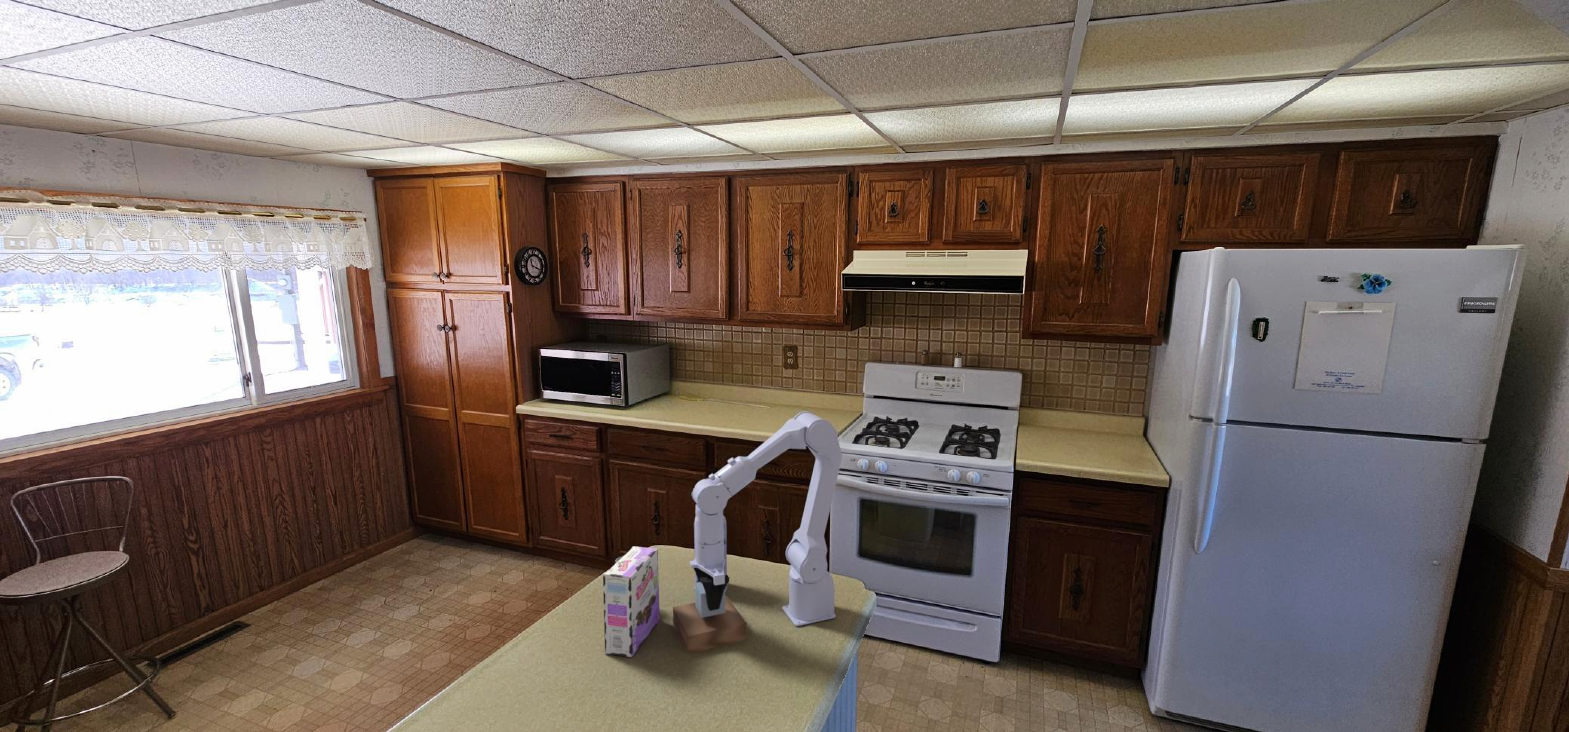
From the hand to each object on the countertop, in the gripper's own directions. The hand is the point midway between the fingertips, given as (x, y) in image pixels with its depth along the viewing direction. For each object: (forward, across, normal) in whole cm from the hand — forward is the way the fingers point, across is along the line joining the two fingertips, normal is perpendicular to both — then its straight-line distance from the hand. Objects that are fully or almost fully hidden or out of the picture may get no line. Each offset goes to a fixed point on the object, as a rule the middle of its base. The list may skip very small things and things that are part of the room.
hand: (710, 602), depth 126 cm
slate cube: (+2, 0, 0) cm, 2 cm away
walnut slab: (+7, 0, 0) cm, 7 cm away
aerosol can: (+7, -18, +5) cm, 20 cm away
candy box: (+7, -4, -15) cm, 17 cm away
